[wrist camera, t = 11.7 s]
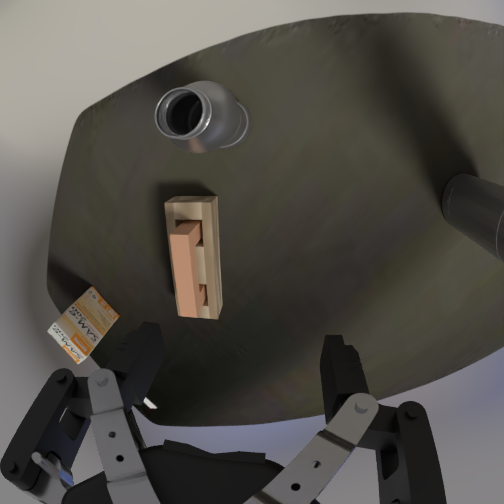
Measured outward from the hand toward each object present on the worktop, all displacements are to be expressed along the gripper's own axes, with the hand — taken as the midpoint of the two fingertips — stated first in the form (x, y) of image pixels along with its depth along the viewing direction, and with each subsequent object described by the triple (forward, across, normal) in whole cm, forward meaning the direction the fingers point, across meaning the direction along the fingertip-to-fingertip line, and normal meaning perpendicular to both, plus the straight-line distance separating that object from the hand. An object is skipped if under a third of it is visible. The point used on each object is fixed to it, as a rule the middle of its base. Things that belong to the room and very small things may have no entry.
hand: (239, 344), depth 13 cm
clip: (+27, +10, +8) cm, 30 cm away
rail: (+28, +10, +8) cm, 31 cm away
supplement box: (+28, +32, +20) cm, 47 cm away
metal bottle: (+28, +5, -11) cm, 31 cm away
